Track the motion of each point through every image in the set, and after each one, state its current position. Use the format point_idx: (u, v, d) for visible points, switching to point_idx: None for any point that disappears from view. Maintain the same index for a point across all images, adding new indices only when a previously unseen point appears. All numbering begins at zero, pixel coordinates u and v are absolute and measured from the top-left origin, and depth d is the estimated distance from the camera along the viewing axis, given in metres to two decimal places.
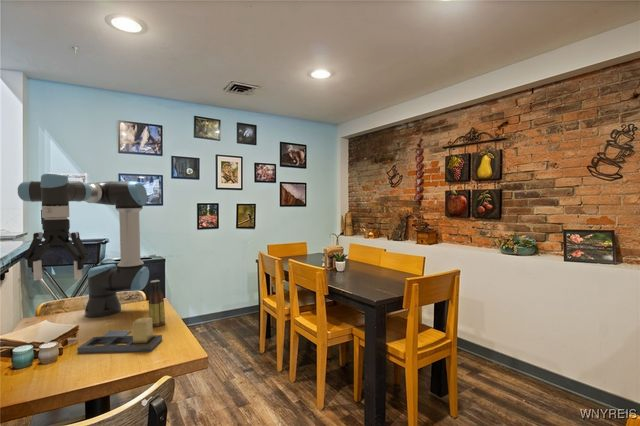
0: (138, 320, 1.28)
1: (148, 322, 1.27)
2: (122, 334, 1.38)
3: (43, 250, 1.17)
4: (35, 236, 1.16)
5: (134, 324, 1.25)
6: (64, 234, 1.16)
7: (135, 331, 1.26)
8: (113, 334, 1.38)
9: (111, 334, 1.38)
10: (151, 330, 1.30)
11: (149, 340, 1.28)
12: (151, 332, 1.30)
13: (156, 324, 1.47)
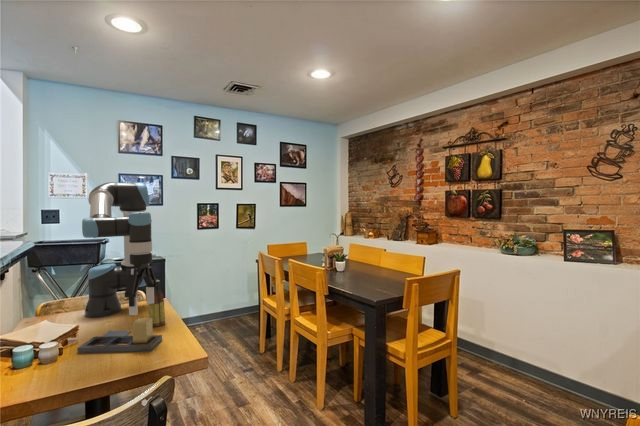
0: (138, 320, 1.28)
1: (148, 322, 1.27)
2: (122, 334, 1.38)
3: (146, 279, 1.32)
4: None
5: (134, 324, 1.25)
6: None
7: (135, 331, 1.26)
8: (113, 334, 1.38)
9: (111, 334, 1.38)
10: (151, 330, 1.30)
11: (149, 340, 1.28)
12: (151, 332, 1.30)
13: (156, 324, 1.47)
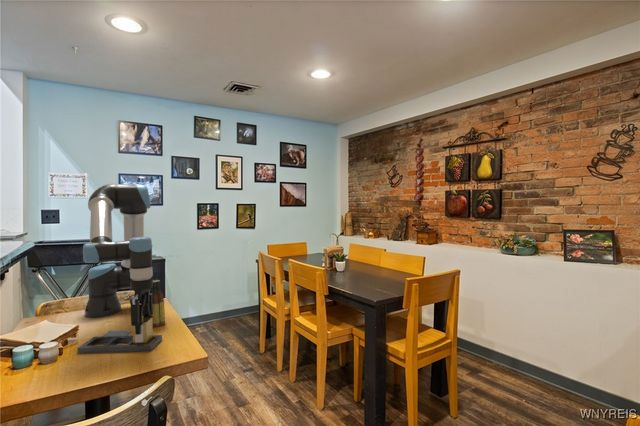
0: None
1: (148, 322, 1.27)
2: (122, 334, 1.38)
3: (144, 307, 1.30)
4: None
5: None
6: None
7: None
8: (113, 334, 1.38)
9: (111, 334, 1.38)
10: (151, 330, 1.30)
11: (149, 340, 1.28)
12: (151, 332, 1.30)
13: (156, 324, 1.47)
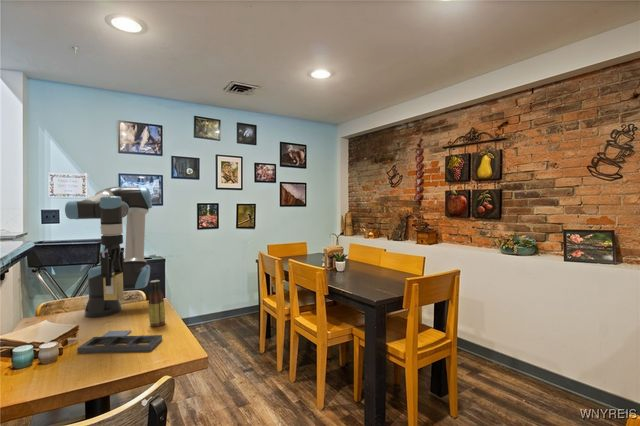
0: None
1: (118, 275, 1.36)
2: (122, 334, 1.38)
3: (115, 263, 1.38)
4: None
5: None
6: None
7: None
8: (113, 334, 1.38)
9: (111, 334, 1.38)
10: (122, 284, 1.39)
11: (119, 292, 1.37)
12: (121, 286, 1.38)
13: (156, 324, 1.47)
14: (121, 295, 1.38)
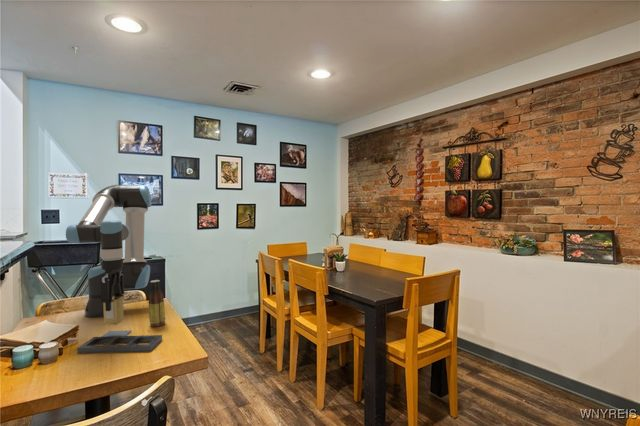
0: None
1: (118, 300, 1.36)
2: (122, 334, 1.38)
3: (115, 287, 1.39)
4: None
5: None
6: None
7: None
8: (113, 334, 1.38)
9: (111, 334, 1.38)
10: (122, 308, 1.39)
11: (119, 317, 1.37)
12: (121, 309, 1.39)
13: (156, 324, 1.47)
14: (121, 319, 1.38)
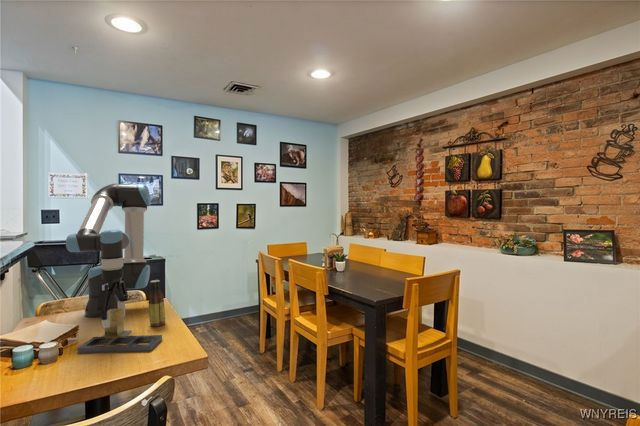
0: None
1: (119, 312, 1.37)
2: (122, 334, 1.38)
3: (118, 293, 1.41)
4: None
5: None
6: None
7: None
8: None
9: None
10: (122, 320, 1.39)
11: (120, 329, 1.37)
12: (122, 322, 1.39)
13: (156, 324, 1.47)
14: (122, 331, 1.39)
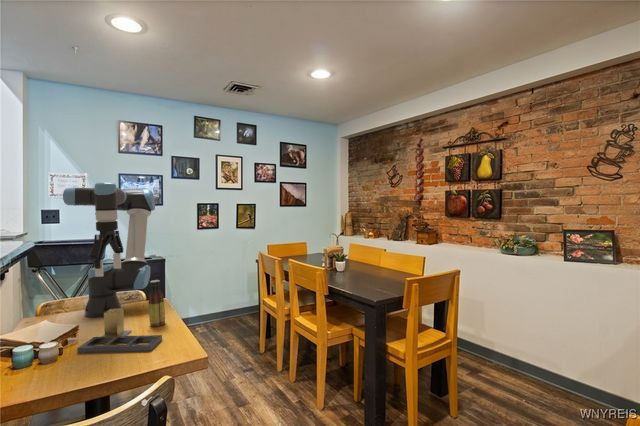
0: (109, 310, 1.37)
1: (119, 312, 1.37)
2: (122, 334, 1.38)
3: (113, 246, 1.42)
4: None
5: (105, 314, 1.35)
6: None
7: (107, 321, 1.35)
8: None
9: None
10: (122, 320, 1.39)
11: (120, 329, 1.37)
12: (122, 322, 1.39)
13: (156, 324, 1.47)
14: (122, 331, 1.39)
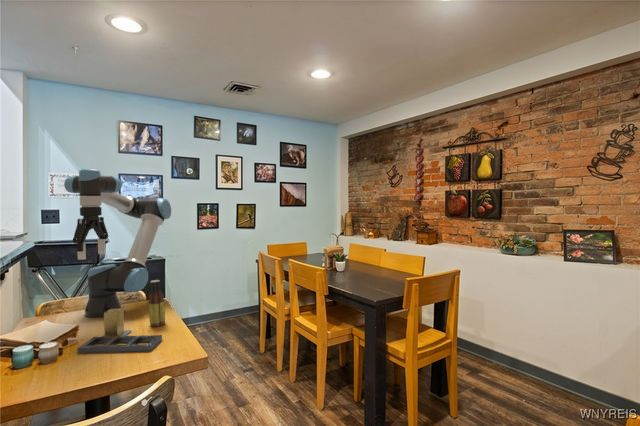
0: (109, 310, 1.37)
1: (119, 312, 1.37)
2: (122, 334, 1.38)
3: (97, 231, 1.47)
4: None
5: (105, 314, 1.35)
6: None
7: (107, 321, 1.35)
8: None
9: None
10: (122, 320, 1.39)
11: (120, 329, 1.37)
12: (122, 322, 1.39)
13: (156, 324, 1.47)
14: (122, 331, 1.39)
